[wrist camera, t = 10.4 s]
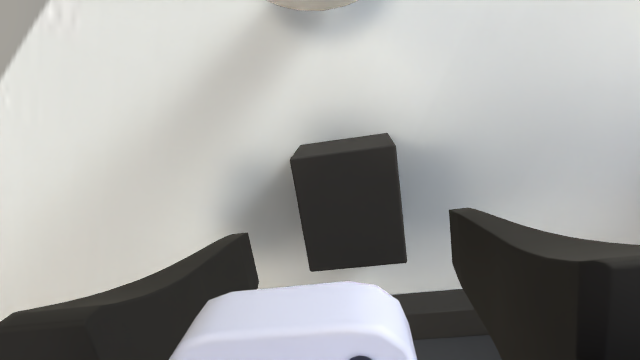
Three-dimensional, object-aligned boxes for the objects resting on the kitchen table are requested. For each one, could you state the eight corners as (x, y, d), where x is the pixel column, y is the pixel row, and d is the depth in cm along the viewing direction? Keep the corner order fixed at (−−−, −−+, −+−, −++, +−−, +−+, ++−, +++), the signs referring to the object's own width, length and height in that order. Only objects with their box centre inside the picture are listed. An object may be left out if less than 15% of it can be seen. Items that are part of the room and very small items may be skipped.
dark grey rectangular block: (388, 132, 18) (395, 144, 15) (398, 233, 19) (407, 263, 16) (299, 144, 18) (289, 158, 15) (316, 242, 20) (309, 272, 17)
